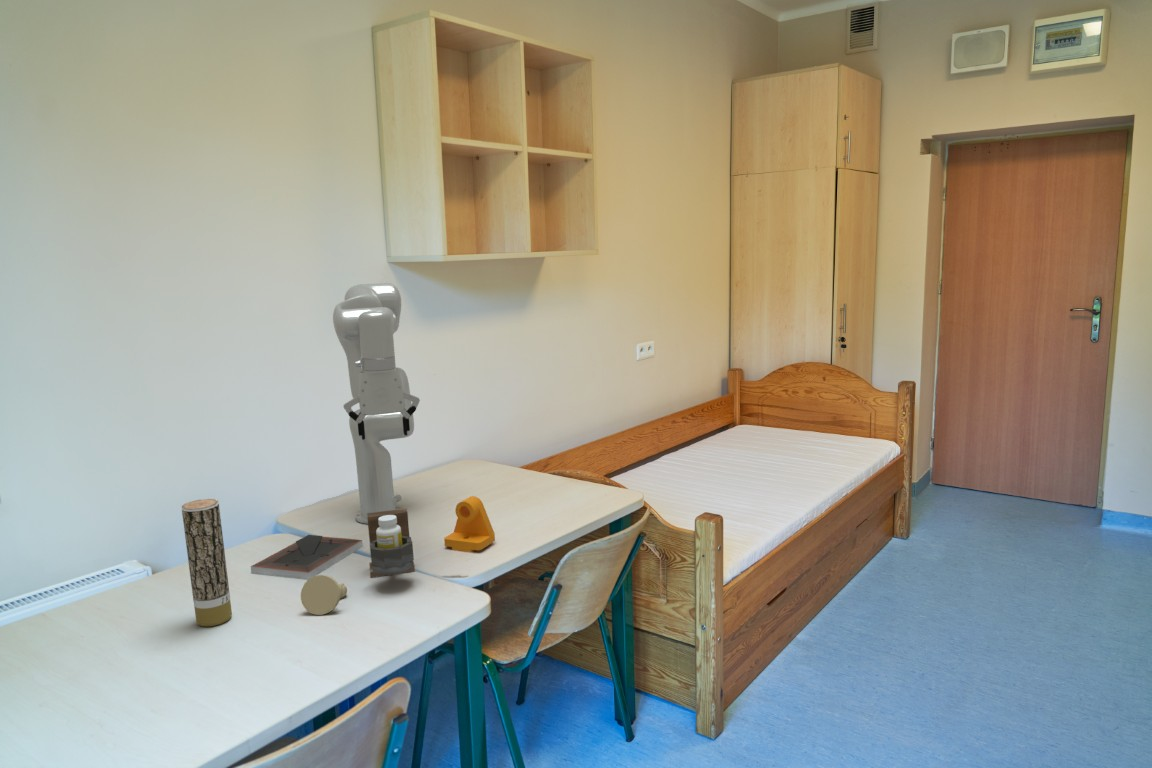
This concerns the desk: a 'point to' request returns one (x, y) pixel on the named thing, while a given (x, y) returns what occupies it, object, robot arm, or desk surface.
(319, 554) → the picture frame
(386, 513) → the cup bracket
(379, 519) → the supplement bottle
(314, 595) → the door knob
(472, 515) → the bracket
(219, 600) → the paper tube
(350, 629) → the desk surface
